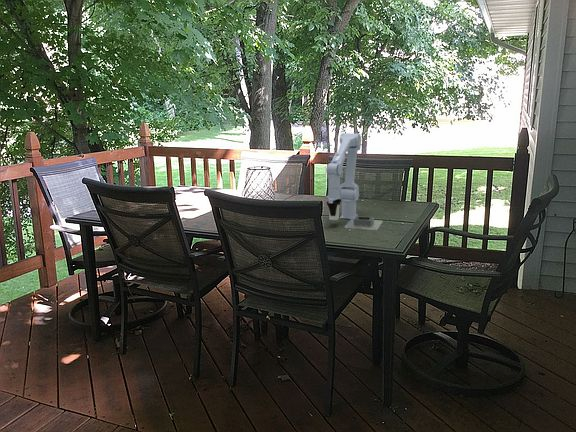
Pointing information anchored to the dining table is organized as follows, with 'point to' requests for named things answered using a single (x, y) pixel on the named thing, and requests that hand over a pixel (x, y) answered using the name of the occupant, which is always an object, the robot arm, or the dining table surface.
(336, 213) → the plug
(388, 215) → the dining table surface
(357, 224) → the socket
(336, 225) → the dining table surface
